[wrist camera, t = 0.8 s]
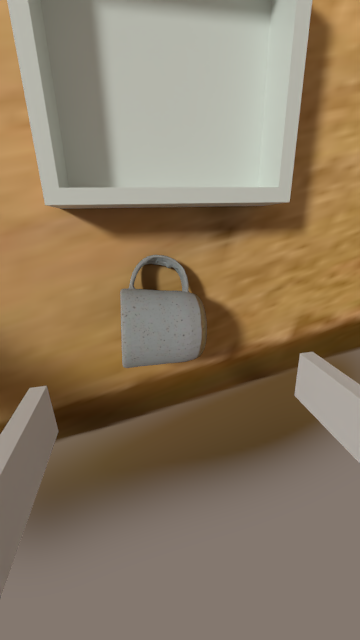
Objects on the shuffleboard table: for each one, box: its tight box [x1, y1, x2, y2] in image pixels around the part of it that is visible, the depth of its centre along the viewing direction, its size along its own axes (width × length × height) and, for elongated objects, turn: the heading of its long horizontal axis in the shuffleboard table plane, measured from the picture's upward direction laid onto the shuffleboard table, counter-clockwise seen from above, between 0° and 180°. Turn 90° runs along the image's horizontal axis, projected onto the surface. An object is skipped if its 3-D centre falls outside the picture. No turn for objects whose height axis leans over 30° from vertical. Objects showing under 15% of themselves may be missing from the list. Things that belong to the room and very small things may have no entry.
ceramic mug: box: [120, 255, 207, 368], centre depth 26 cm, size 11×8×8 cm
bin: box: [7, 0, 312, 209], centre depth 21 cm, size 20×17×5 cm
